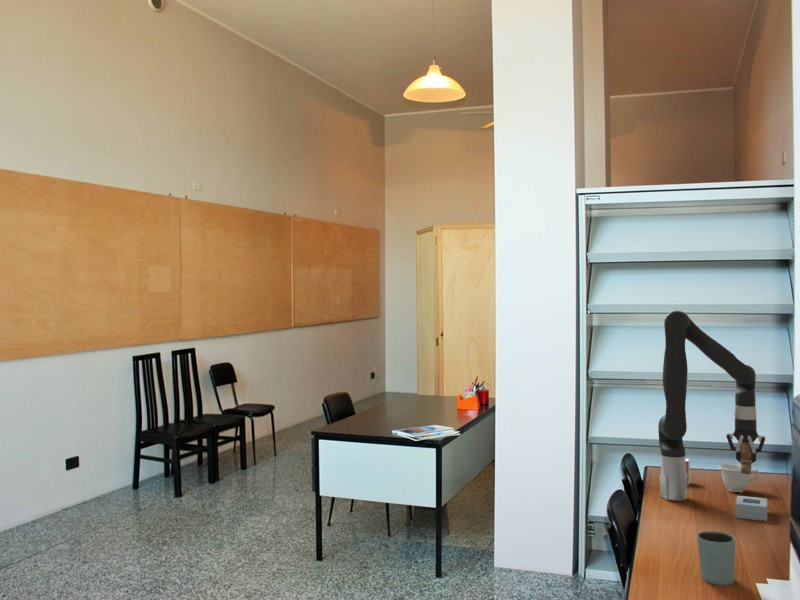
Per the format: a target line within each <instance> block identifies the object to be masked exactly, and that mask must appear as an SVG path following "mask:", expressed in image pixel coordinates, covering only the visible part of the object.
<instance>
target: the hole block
mask: <svg viewBox="0 0 800 600" xmlns="http://www.w3.org/2000/svg"><path fill="white" fill-rule="evenodd" d="M768 506H769V505H768V497H767V498H766V497H756V496H745V495H737V496H736V499H735V518H736V519H744V520H755V521H762V520H764V521H763V522H767V521H768V515H767V514H768V513H769V512H768V511H769V510H768Z"/></svg>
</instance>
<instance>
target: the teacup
mask: <svg viewBox="0 0 800 600" xmlns="http://www.w3.org/2000/svg"><path fill="white" fill-rule="evenodd" d="M718 467H719V469H720V470H721V474H722V480H723V485H724V486H725V487H726V488H728V490H729V491H728V492H730V491H732V492H731V493H734V492H742V493H744V492H743V491H744V489H746V488H747V487H748V485H749V483H751V482H752V481H756V480H758V479H759V478H760V471H759V470H758V469H757V468H753V469H752V468H751V474H743V473H741V463H740V464H739V463H722V464H720V465H719V466H718ZM754 472H756V476H755V477H752V478H750V475H753V473H754Z"/></svg>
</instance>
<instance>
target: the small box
mask: <svg viewBox="0 0 800 600" xmlns="http://www.w3.org/2000/svg"><path fill="white" fill-rule="evenodd" d="M685 459H686V486H688V485H689V486H690V484H691V469H690V467H691V465H690V463H691V462H690V461H691V459H690V458H685Z"/></svg>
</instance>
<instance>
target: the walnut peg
mask: <svg viewBox="0 0 800 600" xmlns="http://www.w3.org/2000/svg"><path fill="white" fill-rule="evenodd" d="M739 451H740V462H739V463H740V464H741V473H743V474H749V475H752V474H751V471H752V464H753V463H752V449H751V446H750V443H748V442H742V443H741V446H740V449H739Z"/></svg>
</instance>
